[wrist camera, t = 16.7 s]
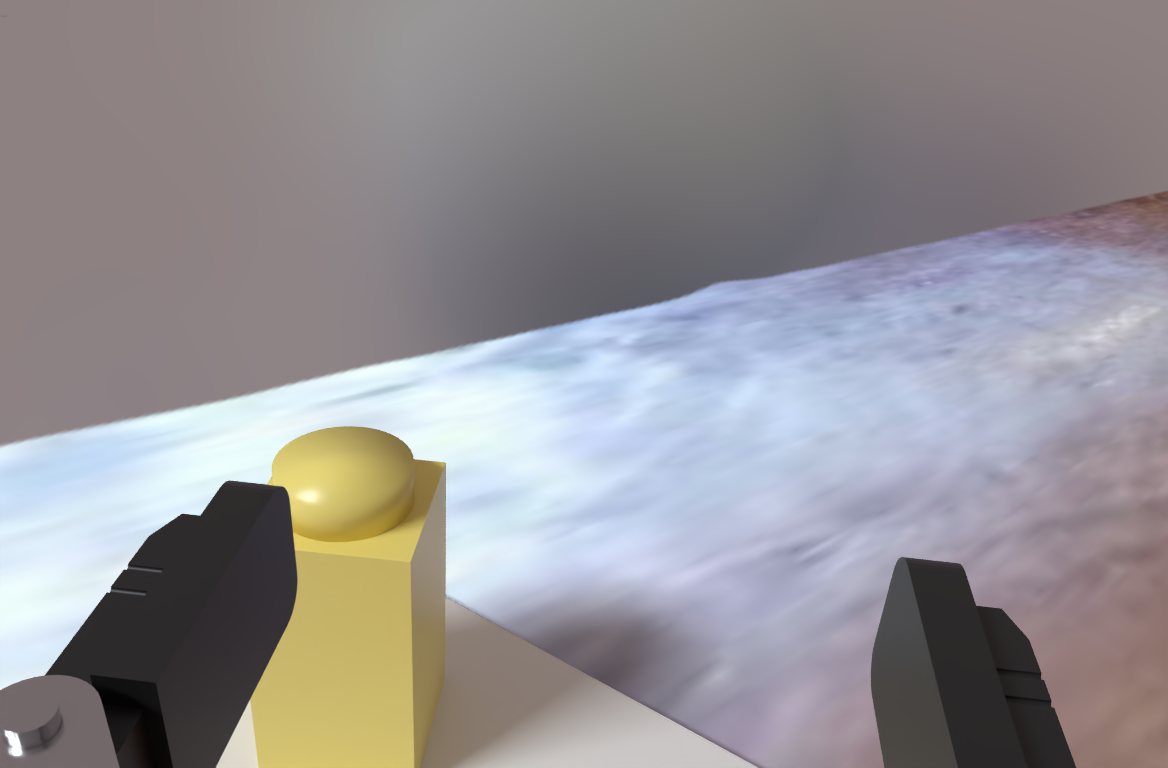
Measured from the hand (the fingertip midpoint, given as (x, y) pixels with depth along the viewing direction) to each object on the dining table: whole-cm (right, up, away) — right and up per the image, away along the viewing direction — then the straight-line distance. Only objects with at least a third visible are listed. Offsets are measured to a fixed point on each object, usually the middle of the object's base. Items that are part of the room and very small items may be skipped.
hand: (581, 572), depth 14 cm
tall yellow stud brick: (-9, -11, +29) cm, 32 cm away
